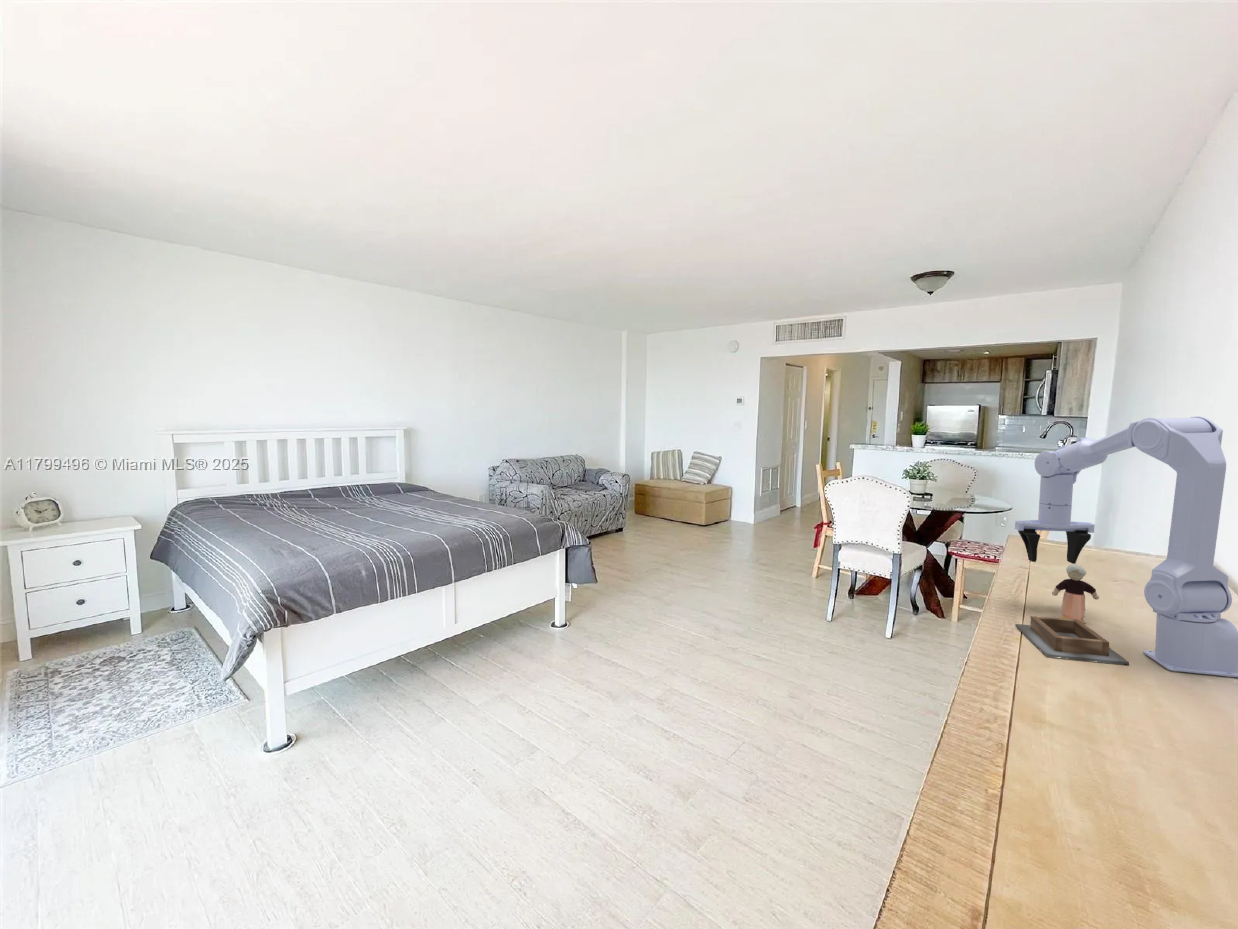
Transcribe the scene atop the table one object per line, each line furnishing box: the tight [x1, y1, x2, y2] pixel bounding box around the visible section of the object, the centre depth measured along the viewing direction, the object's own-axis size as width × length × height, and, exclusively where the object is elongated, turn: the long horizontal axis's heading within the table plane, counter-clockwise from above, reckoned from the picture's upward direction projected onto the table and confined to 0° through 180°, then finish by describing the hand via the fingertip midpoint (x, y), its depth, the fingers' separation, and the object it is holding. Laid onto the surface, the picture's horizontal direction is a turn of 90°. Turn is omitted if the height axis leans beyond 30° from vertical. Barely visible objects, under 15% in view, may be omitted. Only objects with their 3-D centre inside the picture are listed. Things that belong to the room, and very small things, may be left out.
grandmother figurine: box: [1051, 563, 1100, 625], centre depth 114 cm, size 8×4×13 cm, turn 68°
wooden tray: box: [1014, 615, 1130, 666], centre depth 103 cm, size 12×16×3 cm
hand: (1051, 561), depth 121 cm, fingers open, 7 cm apart
